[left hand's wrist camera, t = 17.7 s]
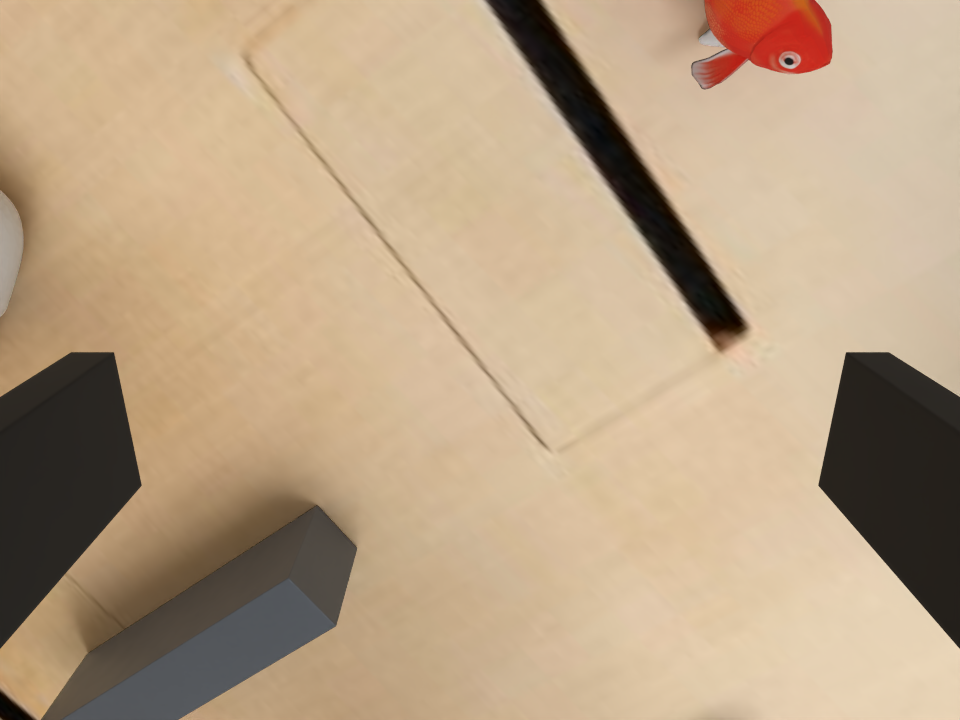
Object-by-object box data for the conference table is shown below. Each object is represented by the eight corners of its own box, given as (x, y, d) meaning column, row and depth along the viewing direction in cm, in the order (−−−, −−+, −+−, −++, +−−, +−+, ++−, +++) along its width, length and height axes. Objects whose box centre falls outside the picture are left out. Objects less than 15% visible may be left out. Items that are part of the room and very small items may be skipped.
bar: (317, 504, 50) (288, 577, 42) (357, 548, 51) (336, 626, 44) (87, 653, 55) (24, 742, 47) (129, 689, 56) (75, 781, 49)
